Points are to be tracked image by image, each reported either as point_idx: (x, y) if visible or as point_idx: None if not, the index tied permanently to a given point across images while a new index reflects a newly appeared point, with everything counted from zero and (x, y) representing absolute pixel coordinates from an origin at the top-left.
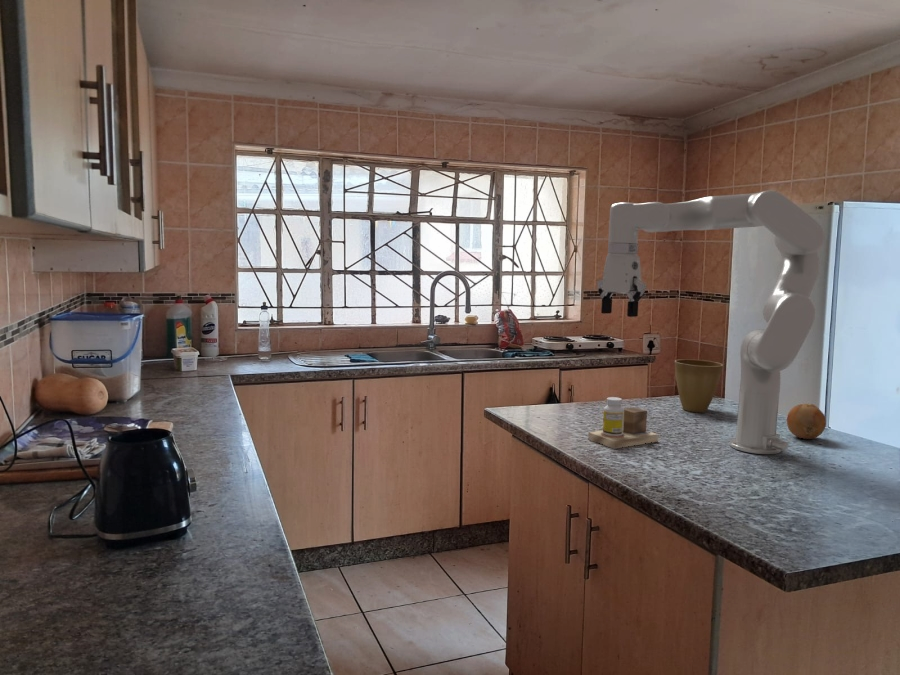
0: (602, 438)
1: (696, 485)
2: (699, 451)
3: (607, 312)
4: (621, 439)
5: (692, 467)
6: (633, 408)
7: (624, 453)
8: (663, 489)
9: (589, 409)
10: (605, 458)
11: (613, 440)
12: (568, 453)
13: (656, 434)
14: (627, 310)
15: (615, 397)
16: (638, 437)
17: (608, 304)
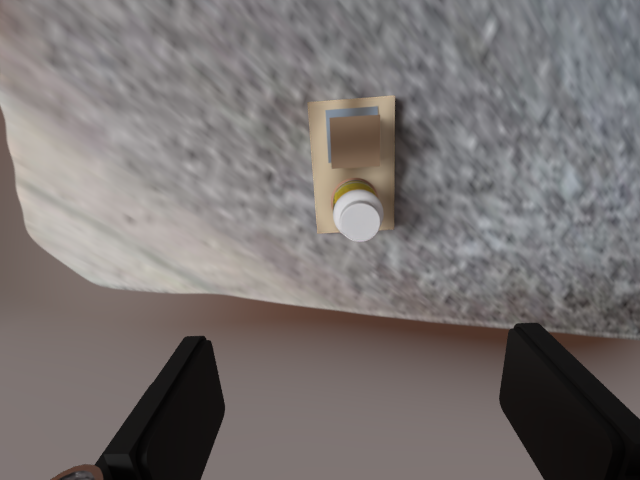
0: None
1: (609, 235)
2: (492, 62)
3: (217, 378)
4: (389, 206)
5: (549, 167)
6: (343, 132)
7: (421, 225)
8: (584, 293)
9: (68, 39)
10: (427, 274)
11: (387, 226)
12: (375, 311)
13: (393, 100)
14: (524, 445)
15: (350, 210)
16: (393, 161)
17: (185, 434)
